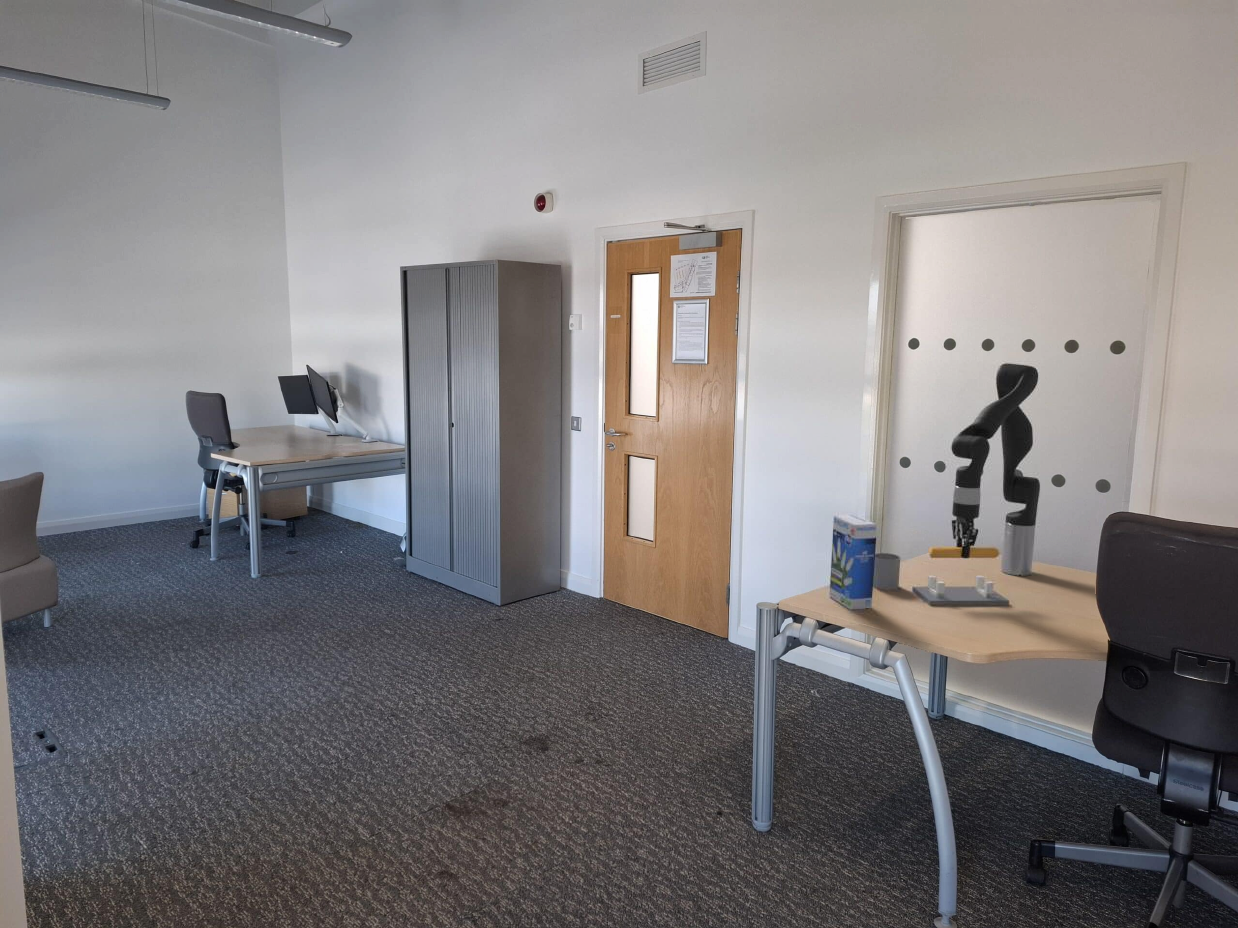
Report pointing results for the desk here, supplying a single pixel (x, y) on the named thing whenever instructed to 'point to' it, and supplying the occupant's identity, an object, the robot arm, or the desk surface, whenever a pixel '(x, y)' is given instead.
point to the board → (959, 593)
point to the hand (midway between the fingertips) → (962, 556)
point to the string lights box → (853, 561)
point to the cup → (886, 571)
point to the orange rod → (956, 553)
